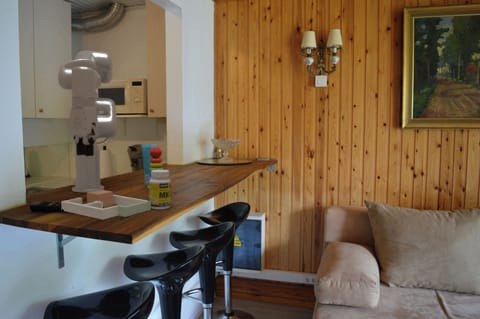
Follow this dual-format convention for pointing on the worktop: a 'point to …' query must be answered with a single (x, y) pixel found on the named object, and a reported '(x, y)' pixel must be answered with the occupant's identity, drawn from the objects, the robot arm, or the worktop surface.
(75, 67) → the robot arm
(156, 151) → the stacking toy
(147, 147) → the tube
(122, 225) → the worktop surface
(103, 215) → the box
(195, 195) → the worktop surface
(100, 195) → the block
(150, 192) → the supplement bottle
